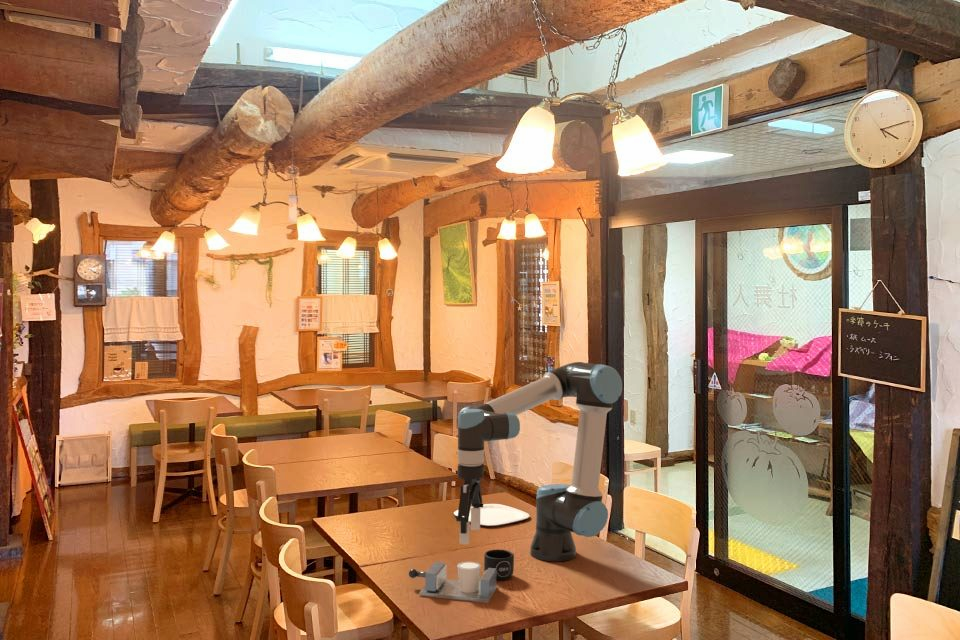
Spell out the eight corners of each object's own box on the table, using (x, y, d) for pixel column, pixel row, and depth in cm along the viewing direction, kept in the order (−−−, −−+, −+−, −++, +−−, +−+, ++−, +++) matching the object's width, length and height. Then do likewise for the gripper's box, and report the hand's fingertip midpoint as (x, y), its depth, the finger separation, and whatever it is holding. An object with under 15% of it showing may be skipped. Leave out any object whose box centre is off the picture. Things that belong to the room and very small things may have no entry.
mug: (517, 580, 236) (518, 557, 236) (489, 583, 233) (489, 560, 233) (504, 567, 247) (504, 545, 247) (477, 570, 244) (477, 547, 244)
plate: (495, 505, 321) (495, 501, 321) (537, 520, 301) (537, 515, 301) (445, 515, 305) (445, 511, 305) (487, 531, 285) (487, 527, 285)
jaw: (446, 579, 232) (447, 562, 232) (437, 591, 222) (437, 574, 222) (414, 575, 235) (414, 559, 234) (403, 588, 225) (403, 570, 225)
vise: (496, 587, 230) (497, 567, 230) (487, 603, 218) (488, 581, 218) (431, 580, 234) (431, 561, 234) (419, 595, 223) (419, 574, 222)
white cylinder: (478, 594, 222) (478, 570, 221) (454, 592, 223) (454, 568, 223) (482, 585, 228) (483, 562, 228) (459, 583, 230) (460, 560, 229)
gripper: (468, 454, 237) (467, 523, 238) (446, 472, 213) (445, 549, 214) (492, 455, 236) (491, 525, 236) (473, 474, 211) (472, 551, 212)
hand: (470, 536), depth 225 cm, fingers open, 13 cm apart
